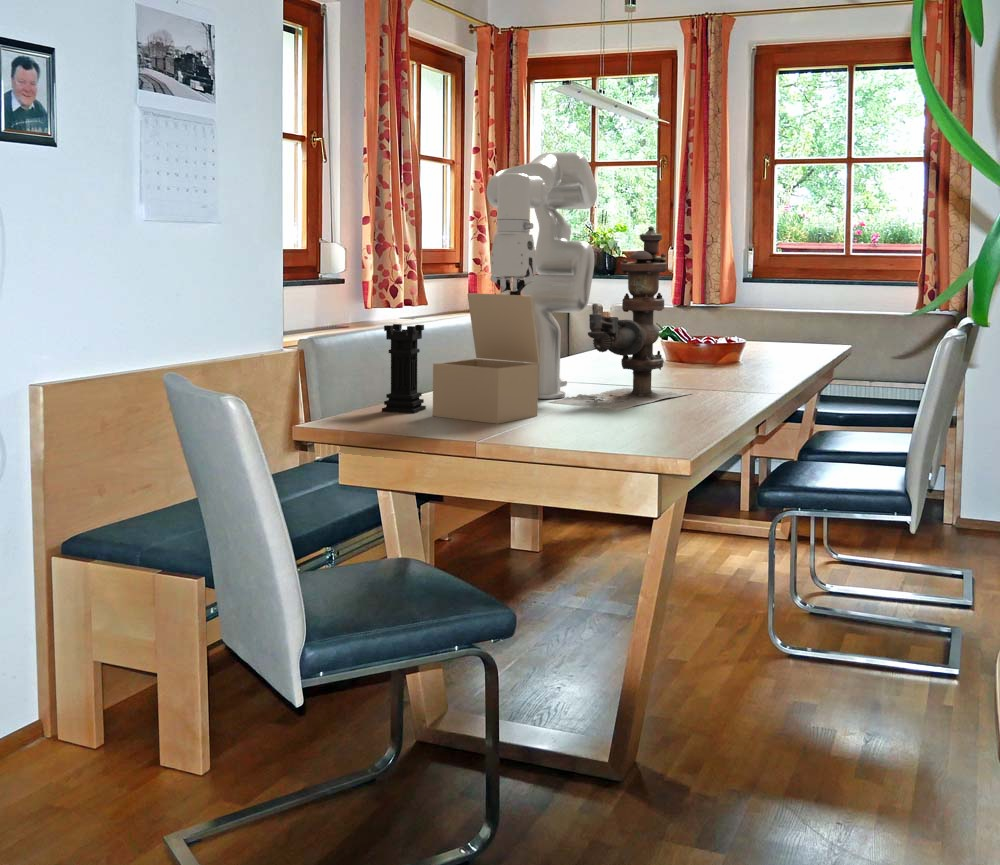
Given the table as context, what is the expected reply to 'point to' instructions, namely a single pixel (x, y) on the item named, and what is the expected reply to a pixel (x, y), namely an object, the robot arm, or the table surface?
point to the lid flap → (503, 327)
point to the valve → (632, 332)
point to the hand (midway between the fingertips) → (511, 308)
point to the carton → (485, 390)
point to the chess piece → (403, 369)
